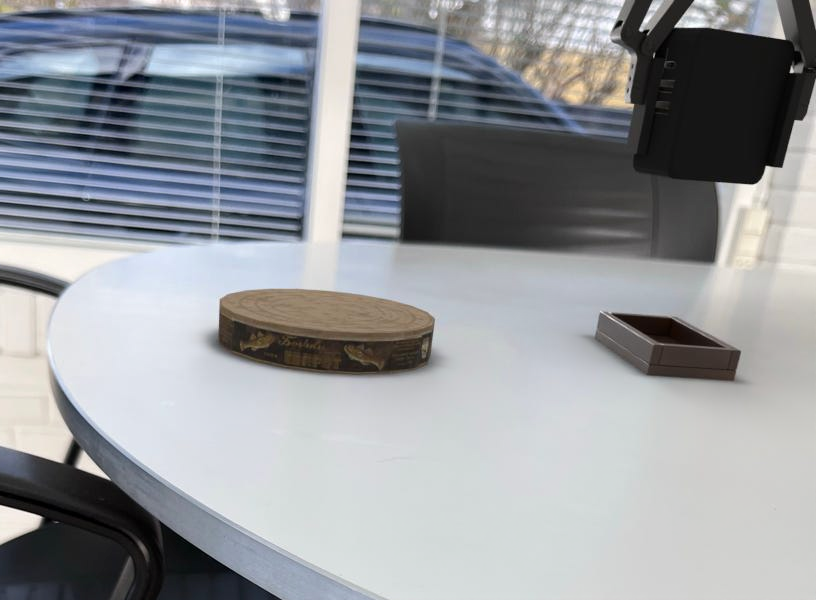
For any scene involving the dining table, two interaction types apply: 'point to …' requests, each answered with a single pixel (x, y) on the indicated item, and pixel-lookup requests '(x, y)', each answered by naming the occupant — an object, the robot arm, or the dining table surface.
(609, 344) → the brown box
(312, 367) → the tin can
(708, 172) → the electronic device
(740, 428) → the dining table surface
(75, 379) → the dining table surface
